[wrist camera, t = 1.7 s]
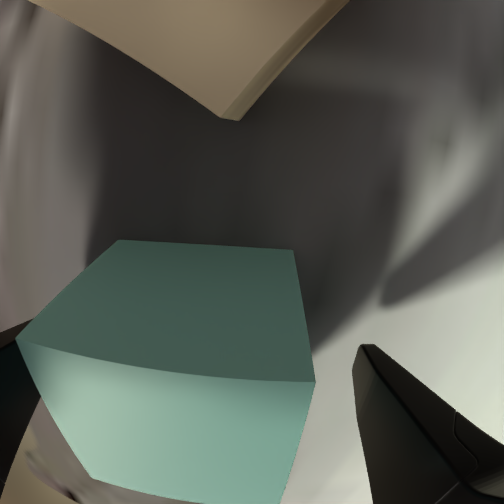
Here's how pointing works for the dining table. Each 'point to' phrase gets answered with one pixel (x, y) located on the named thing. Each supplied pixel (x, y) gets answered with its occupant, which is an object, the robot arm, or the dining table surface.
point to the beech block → (206, 41)
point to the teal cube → (179, 369)
